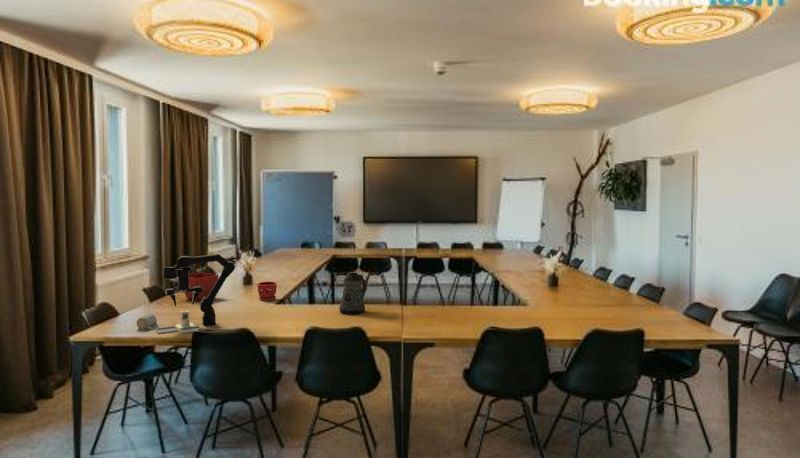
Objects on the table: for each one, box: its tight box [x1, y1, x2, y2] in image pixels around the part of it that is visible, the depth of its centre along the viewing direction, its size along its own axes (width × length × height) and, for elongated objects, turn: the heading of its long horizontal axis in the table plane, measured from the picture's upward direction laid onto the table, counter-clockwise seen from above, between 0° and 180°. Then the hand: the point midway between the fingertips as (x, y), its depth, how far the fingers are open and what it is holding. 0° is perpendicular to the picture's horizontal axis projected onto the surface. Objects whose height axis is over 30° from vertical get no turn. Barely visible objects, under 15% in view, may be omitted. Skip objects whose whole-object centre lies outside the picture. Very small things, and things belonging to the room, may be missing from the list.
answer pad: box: [175, 322, 195, 329], centre depth 307 cm, size 9×9×1 cm
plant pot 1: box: [183, 272, 220, 302], centre depth 384 cm, size 19×19×17 cm
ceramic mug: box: [136, 313, 159, 330], centre depth 302 cm, size 11×8×8 cm
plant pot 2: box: [256, 281, 277, 302], centre depth 381 cm, size 13×13×12 cm
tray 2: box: [179, 325, 202, 335], centre depth 297 cm, size 10×10×1 cm
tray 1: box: [154, 325, 179, 335], centre depth 296 cm, size 10×10×1 cm
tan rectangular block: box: [180, 310, 190, 326], centre depth 307 cm, size 4×4×8 cm
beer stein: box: [338, 272, 368, 316], centre depth 345 cm, size 16×19×25 cm
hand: (184, 305), depth 307 cm, fingers open, 9 cm apart
